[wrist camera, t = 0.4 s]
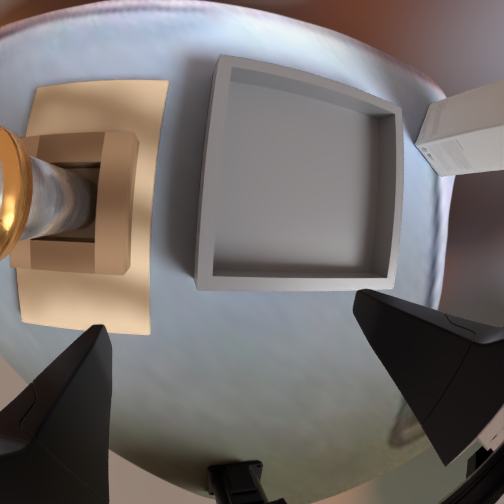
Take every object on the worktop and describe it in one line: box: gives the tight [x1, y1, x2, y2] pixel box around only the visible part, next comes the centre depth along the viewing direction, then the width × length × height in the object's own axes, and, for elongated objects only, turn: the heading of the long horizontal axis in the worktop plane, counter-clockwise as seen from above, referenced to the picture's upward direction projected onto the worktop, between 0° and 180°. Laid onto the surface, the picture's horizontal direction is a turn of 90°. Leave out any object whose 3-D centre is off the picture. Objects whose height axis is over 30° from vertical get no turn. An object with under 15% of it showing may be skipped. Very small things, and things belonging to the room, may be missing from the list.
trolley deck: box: [10, 80, 169, 335], centre depth 17 cm, size 20×12×4 cm, turn 176°
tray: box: [194, 55, 404, 291], centre depth 22 cm, size 17×17×4 cm
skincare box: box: [415, 80, 504, 177], centre depth 20 cm, size 8×6×15 cm
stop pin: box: [0, 126, 98, 260], centre depth 12 cm, size 5×5×13 cm
